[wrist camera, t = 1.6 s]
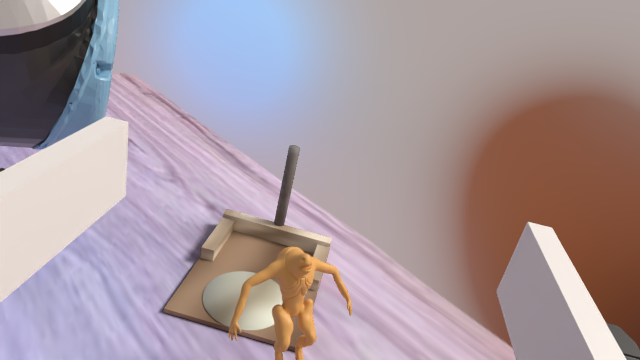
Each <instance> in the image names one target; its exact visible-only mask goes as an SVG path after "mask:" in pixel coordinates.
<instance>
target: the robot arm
mask: <svg viewBox="0 0 640 360" xmlns="http://www.w3.org/2000/svg"><path fill="white" fill-rule="evenodd" d="M118 17H119V0H0V146H12V147H28V148H33V149H43V150H41V151H39V152H37V153H36V154H34V155H32V156H30V157H28V158H26V159H24V160H22V161H20V162H18V163H17V164H15V165H13V166H11V167H9V168H7V169H4V168H1V169H0V302H1V301H2V300H4V299H5V298H6V297H7V296H8V295H10V294H11V293H12V292H13V291H14V290H15V289H17V288H18V287H19V286H20V285H21V284H22V283H24V282H25V281H26V280H27V279H28V278H30V277H31V276H32V275H33V274H34V273H35V272H37V271H38V270H39V269H40V268H41V267H42V266H44V265H45V264H46V263H47V262H48V261H49V260H51V259H52V258H53V257H54V256H55V255H57V254H58V253H59V252H60V251H61V250H62V249H64V248H65V247H66V246H67V245H68V244H69V243H71V242H72V241H73V240H74V239H75V238H77V237H78V236H79V235H80V234H81V233H82V232H84V231H85V230H86V229H87V228H88V227H89V226H91V225H92V224H93V223H94V222H95V221H96V220H98V219H99V218H100V217H101V216H102V215H104V214H105V213H106V212H107V211H108V210H109V209H111V208H112V207H113V206H114V205H115V204H116V203H118V202H119V201H120V200H121V199H122V198H124V197H125V196H126V175H127V146H128V122H126V121H122V120H118V119H114V118H110V117H105V115H106V110H107V105H108V99H109V93H110V86H111V76H112V74H111V70H112V68H113V60H114V55H115V49H116V40H117V30H118ZM44 148H45V149H44ZM497 295H498V298H499V302H500V305H501V309H502V312H503V315H504V319H505V323H506V326H507V330H508V333H509V336H510V340H511V343H512V347H513V350H514V354H515V357H516V360H640V350H639V348H638V346H637V345H636V343H635V342H634V341H633V340H632V339H631V338H630V337H629V336H628V335H627V334H626V333H625V332H624V331H623V330H622V329H621V328H619V326H616V325H612V324H608V323H606V322H605V321H604V319H603V317H602V315H601V314H600V312H599V310H598V308H597V307H596V305H595V303H594V302H593V300H592V298H591V296H590V294H589V293H588V291H587V289H586V287H585V285H584V284H583V282H582V280H581V278H580V277H579V275H578V273H577V271H576V269H575V268H574V266H573V264H572V263H571V261H570V259H569V258H568V255H567V254H566V252H565V250H564V248H563V247H562V245H561V243H560V241H559V240H558V238H557V236H556V234H555V232H554V231H553V229H552V228H550V227H546V226H542V225H538V224H534V223H530V222H527V224H526V227H525V229H524V231H523V233H522V235H521V238H520V240H519V242H518V245H517V247H516V249H515V251H514V253H513V256H512V258H511V260H510V262H509V264H508V267H507V269H506V271H505V273H504V276H503V278H502V280H501V282H500V284H499V287H498V289H497Z"/></svg>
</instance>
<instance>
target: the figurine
mask: <svg viewBox="0 0 640 360" xmlns="http://www.w3.org/2000/svg"><path fill="white" fill-rule="evenodd" d="M315 271H319V272H323V273H328V274H332V275H333V278H334V281H335V282H336V284H337V287H338V289H339V291H340V292H341V294H342V295H343V297H344V298H345V299H346V301H347V309H348V310H349V314H350V316H351V314H352V309H351V299H350V296H349V294H348V291H347V289H346V287H345V285H344V284H343V282H342V280H341V277H340V274H339V271H338V270H337V268H336V267H334V266H333V265H330V264H328V263H325V262H322V261H320V260H318V259H317V258H315V257H311V256H310V255H309V254H305V253H304V252H303V251H302V250H301V249H300V248H298V247H287V248H285V249H283V250H282V251H281V252H280V253H279V254H278V256H277V259H276V261H275V262H273V263H271V264H270V265H269V266H268V267H266V268H265V269H264V270H262V271H260V272H258V273H257V274H255V275H253V276H252V277H250V278H249V279H247V280H246V281H245V282H244V283H243V285H242V288H241V293H240V297H239V300H238V302H237V305H236V308H235V311H234V315H233V318H232V320H231V323H230V327H229V338H230V333H231V340H233V334H235V339H236V341H237V329H238V330H239V331H240V333H241V328H240V326H239V325H238V320H239V318H240V316H241V314H242V312H243V310H244V307H245V303H246V300H247V297H248V295H249V292H250V289H251V287H253V286H256V285H258V284H260V283H262V282H264V281H267V280H268V279H270V278H273V277H277V278H278V283H279V286H280V291H281V294H282V301H283V303H282V305H280V304H278V305H275V306H274V307H273V308H272V316H273V319H274V330H275V336H276V339H277V341H276V342H275V344H274V350H275V360H283V355H282V352H285V351H286V350H287V349H288V347H289V345H290V338H291V334H292V332H293V322H292V320H291V317H296V316H297V315H298V328H299V329H300V330H301V331H302V332H303V333H304V335H301V336H299V337H298V338H297V343H296V345H295V356H296V360H303V352H302V347H306V346H310V345H312V344H313V343H314V342H315V341H316V338H317V336H316V333H315V325H314V320H313V315H312V313H313V301H312V299H306V300H304V297H305V295H306V293H307V291H308V289H309V288H310V287H311V285H312V283H313V278H314V274H315ZM290 316H291V317H290Z"/></svg>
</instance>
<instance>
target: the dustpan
mask: <svg viewBox="0 0 640 360" xmlns="http://www.w3.org/2000/svg"><path fill="white" fill-rule="evenodd" d="M299 151H300V148H299V147H298V146H295V145H291V146H290V147H289V150H288V155H287V161H286V166H285V171H284V176H283V181H282V186H281V191H280V196H279V201H278V206H277V211H276V216H275V221H274V222H272V221H268V220H265V219H261V218H258V217H254V216H251V215H247V214H243V213H240V212H236V211H233V210H229V209H227V210H226V211H225V213H224V215H223V218H222V219H221V221H220V222H219V224H218V225H217V226H216V228H215V229H214V230H213V232H212V233H211V235H210V236H209V237H208V239H207V240H206V242H205V243H204V244H203V246H202V247H201V255H200V258H199V259H198V261H197V262H196V264H195V265H194V266H193V268H192V269H191V271H190V272H189V274H188V275H187V276H186V278H185V279H184V281H183V282H182V284H181V285H180V286H179V288H178V289H177V291H176V292H175V293H174V295H173V296H172V298H171V299H170V301H169V302H168V303H167V305H166V306H165V308H164V312H165V313H168V314H171V315H175V316H178V317H181V318H185V319H188V320H191V321H195V322H198V323H202V324H205V325H208V326H212V327H215V328H218V329H222V330H225V331H229V327H230V323H231V320H232V318H233V315H234V311H235V308H236V305H237V302H238V300H239V297H240V293H241V288H242V285H243V283H244V282H245V281H246V280H247V279H249V278H250V277H252V276H253V275H255V274H257V273H258V272H260V271H262V270H264V269H265V268H266V267H268V266H269V265H270V264H271V263H273V262H275V261H276V259H277V256H278V254H279V253H280V252H281V251H282V250H283V249H285V248H287V247H298V248H300V249H301V250H302V251H303V252H304V253H305V254H309V255H310V256H311V257H315V258H317V259H318V260H320V261H322V262H325V263H326V260H327V257H328V253H329V247H330V243H331V240H332V238H329V237H326V236H322V235H318V234H315V233H311V232H308V231H304V230H301V229H297V228H293V227H290V226H286V225H284V222H285V218H286V213H287V208H288V203H289V199H290V194H291V189H292V184H293V179H294V175H295V170H296V164H297V160H298V156H299ZM322 274H323V272H319V271H315V274H314V278H313V283H312V285H311V287H310V288H309V289H308V291H307V293H306V295H305V297H304V300H306V299H312V301H313V305H314V302H315V298H316V295H317V291H318V288H319V284H320V281H321V277H322ZM282 303H283V301H282V294H281V291H280V286H279V283H278V278H277V277H273V278H270V279H268V280H267V281H264V282H262V283H260V284H258V285H256V286H253V287H251V289H250V292H249V295H248V297H247V300H246V303H245V307H244V310H243V312H242V314H241V316H240V318H239V320H238V325H239V326H240V328H241V333H240V331H239V330H238V329H237V334H239V335H242V336H245V337H249V338H252V339H255V340H259V341H262V342H266V343H269V344H272V345H274V344H275V342H276V341H277V339H276V336H275V330H274V319H273V316H272V308H273V307H274V306H275V305H278V304H280V305H282ZM290 317H291V316H290ZM291 320H292V322H293V332H292V334H291V338H290V345H289V347H288V349H289V350H292V351H295V345H296V343H297V338H298V337H299V336H301V335H304V333H303V332H302V331H301V330H300V329H299V328H298V315H297V316H296V317H291Z"/></svg>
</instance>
